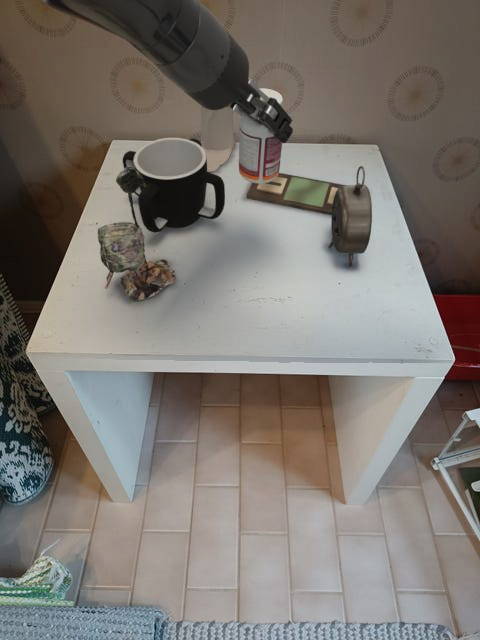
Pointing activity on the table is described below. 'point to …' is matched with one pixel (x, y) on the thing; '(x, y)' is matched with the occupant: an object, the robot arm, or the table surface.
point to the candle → (217, 136)
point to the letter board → (296, 193)
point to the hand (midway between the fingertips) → (270, 125)
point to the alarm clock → (351, 218)
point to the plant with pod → (131, 249)
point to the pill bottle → (259, 148)
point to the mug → (174, 183)
